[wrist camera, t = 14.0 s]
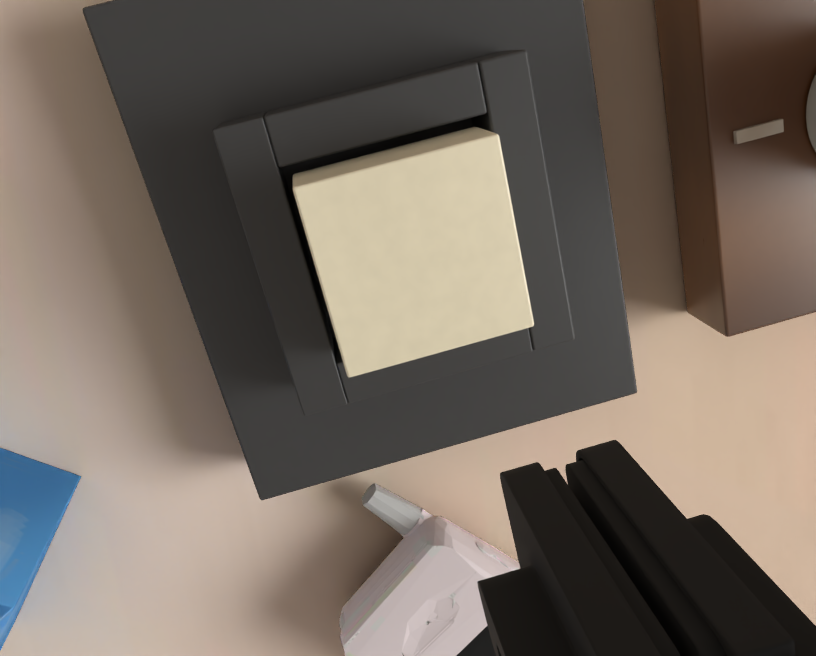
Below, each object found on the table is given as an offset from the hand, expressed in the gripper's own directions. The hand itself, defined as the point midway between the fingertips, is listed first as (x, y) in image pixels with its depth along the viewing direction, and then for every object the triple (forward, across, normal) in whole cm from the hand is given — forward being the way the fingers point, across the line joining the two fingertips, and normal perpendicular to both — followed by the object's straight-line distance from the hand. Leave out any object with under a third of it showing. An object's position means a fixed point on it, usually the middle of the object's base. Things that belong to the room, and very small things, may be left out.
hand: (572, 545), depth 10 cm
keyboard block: (+14, 0, -3) cm, 14 cm away
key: (+10, 0, -3) cm, 10 cm away
